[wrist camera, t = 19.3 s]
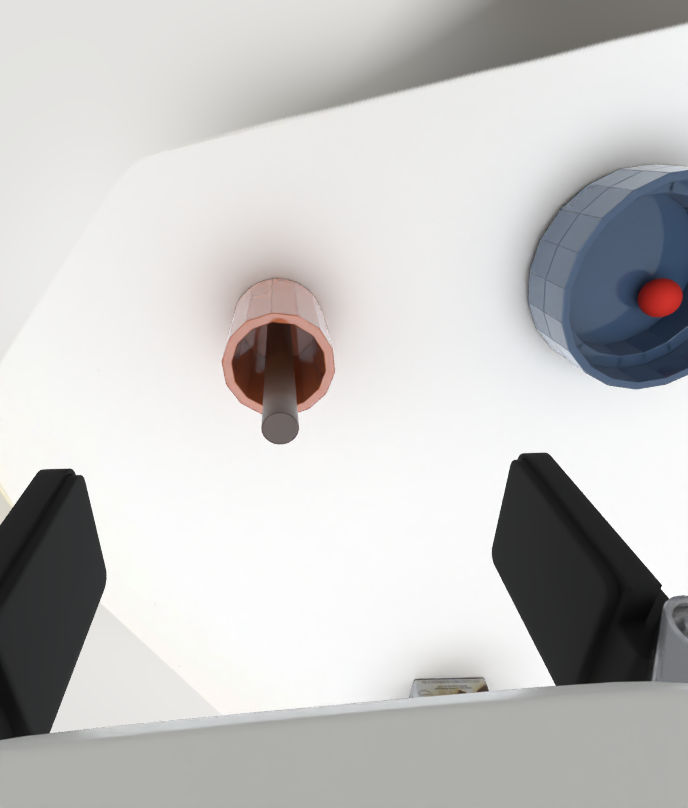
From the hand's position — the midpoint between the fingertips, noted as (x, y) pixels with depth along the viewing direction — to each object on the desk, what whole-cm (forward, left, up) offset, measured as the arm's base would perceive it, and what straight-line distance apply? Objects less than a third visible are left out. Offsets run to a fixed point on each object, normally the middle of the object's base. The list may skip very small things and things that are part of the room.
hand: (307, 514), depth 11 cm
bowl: (+19, +18, -29) cm, 39 cm away
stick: (+3, -4, -29) cm, 29 cm away
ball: (+22, +19, -27) cm, 40 cm away
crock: (+3, -4, -30) cm, 30 cm away
